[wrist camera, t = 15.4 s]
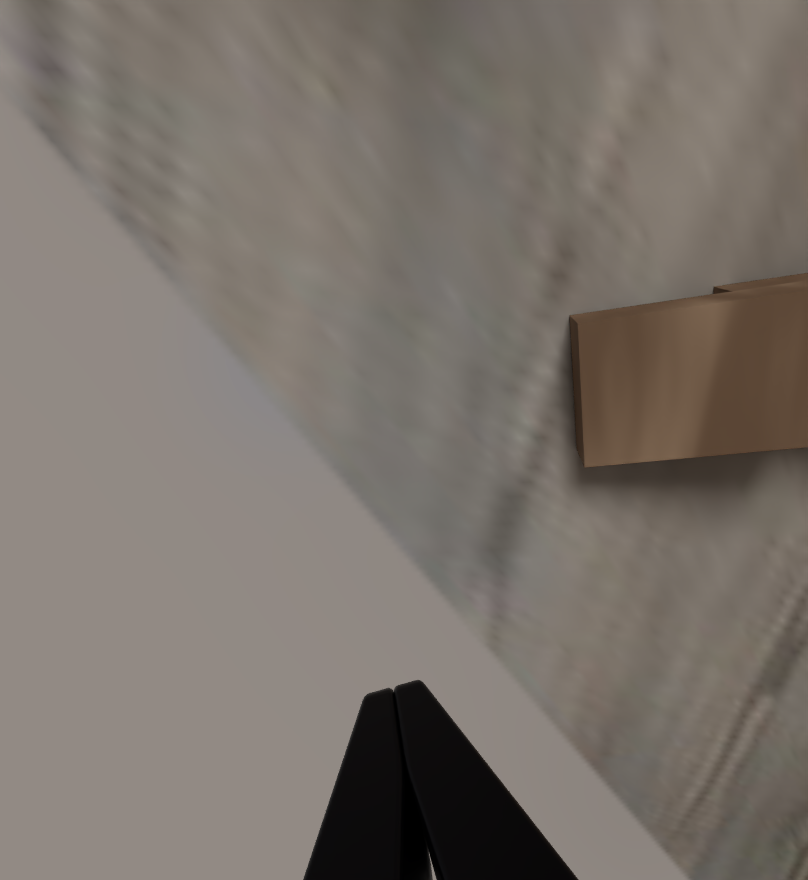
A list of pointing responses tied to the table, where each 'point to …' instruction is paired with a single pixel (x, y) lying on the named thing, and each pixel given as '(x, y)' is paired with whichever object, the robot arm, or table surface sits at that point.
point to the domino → (692, 376)
